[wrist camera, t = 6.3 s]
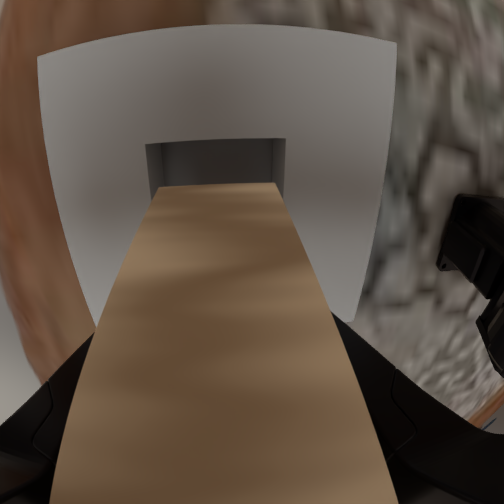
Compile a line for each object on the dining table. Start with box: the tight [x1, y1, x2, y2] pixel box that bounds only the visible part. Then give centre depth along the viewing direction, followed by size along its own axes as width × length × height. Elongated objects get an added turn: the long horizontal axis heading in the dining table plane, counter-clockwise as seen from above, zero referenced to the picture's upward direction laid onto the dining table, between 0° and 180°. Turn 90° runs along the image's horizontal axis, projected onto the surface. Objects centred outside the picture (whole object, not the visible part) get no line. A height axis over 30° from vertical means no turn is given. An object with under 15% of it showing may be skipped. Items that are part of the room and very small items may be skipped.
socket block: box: [37, 24, 397, 328], centre depth 16 cm, size 16×16×4 cm
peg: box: [49, 183, 399, 504], centre depth 7 cm, size 4×4×10 cm
